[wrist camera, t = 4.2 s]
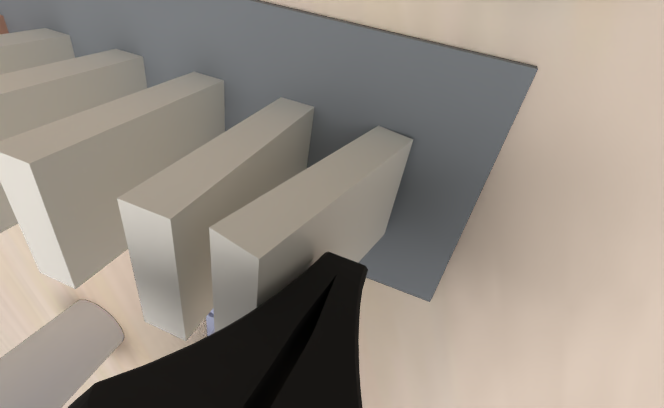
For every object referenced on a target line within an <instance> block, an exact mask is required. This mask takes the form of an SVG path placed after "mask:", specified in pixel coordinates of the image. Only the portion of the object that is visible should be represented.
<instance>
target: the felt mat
mask: <svg viewBox="0 0 664 408" xmlns="http://www.w3.org/2000/svg"><path fill="white" fill-rule="evenodd" d="M0 15H3V17H4V20H5V23H6V26H7V29H8V32H9V33H14V32H21V31H28V30H35V29H42V28H47V29H50V30H54V31H57V32H61V33H64V34H67V35H70V39H71V43H72V47H73V51H74V56H75V58H77V57H81V56H86V55H90V54H95V53H99V52H104V51H108V50H112V49H119V50H122V51H125V52H129V53H132V54H136V55H139V56H142V57H143V61H144V68H145V76H146V83H147V88H150V87H153V86H155V85H158V84H161V83H164V82H167V81H169V80H172V79H175V78H178V77H181V76H183V75H186V74H189V73H192V72H197V73H201V74H204V75H207V76H211V77H214V78H218V79H221V80H224V107H225V131H227V130H229V129H230V128H232V127H233V126H235V125H237V124H238V123H240V122H242V121H243V120H245V119H246V118H248V117H250V116H251V115H253V114H255V113H256V112H258V111H259V110H261V109H263V108H264V107H266V106H268V105H269V104H271V103H272V102H274V101H276V100H277V99H279V98H281V97H282V98H286V99H289V100H293V101H296V102H299V103H303V104H306V105H310V106H313V107H314V114H313V122H312V130H311V138H310V146H309V153H308V161H307V168H309V167H310V166H312V165H314V164H315V163H317V162H319V161H320V160H322V159H324V158H325V157H327V156H329V155H330V154H332V153H334V152H335V151H337V150H339V149H340V148H342V147H344V146H345V145H347V144H349V143H350V142H352V141H354V140H355V139H357V138H359V137H360V136H362V135H364V134H365V133H367V132H369V131H370V130H372V129H374V128H375V127H377V126H381V127H383V128H386V129H388V130H391V131H393V132H396V133H398V134H401V135H403V136H406V137H408V138H411V139H413V142H412V146H411V149H410V152H409V156H408V159H407V162H406V165H405V169H404V172H403V175H402V178H401V182H400V185H399V188H398V192H397V195H396V198H395V201H394V205H393V208H392V211H391V214H390V218H389V221H388V224H387V228H386V231H385V234H384V235H383V236H382V237H381V238H380V239H379V241H378V242H377V243H376V244H375V245H374V246H373V247H372V248H371V249H370V250H369V251H368V253H367V254H366V255H365V256H364V257H363V258H362V259H361V260H360V261H359V262H358V263H360V264H363V265H365V266H366V267H367V269H368V272H367V275H366V278H369V279H371V280H374V281H376V282H379V283H382V284H384V285H387V286H389V287H392V288H395V289H397V290H400V291H403V292H405V293H408V294H410V295H413V296H416V297H418V298H421V299H423V300H426V301H429V302H430V301H431V299H432V297H433V294H434V292H435V290H436V288H437V286H438V284H439V281H440V279H441V277H442V275H443V273H444V271H445V268H446V266H447V264H448V262H449V260H450V258H451V256H452V253H453V251H454V249H455V247H456V245H457V243H458V240H459V238H460V236H461V234H462V232H463V230H464V227H465V225H466V223H467V221H468V219H469V217H470V215H471V212H472V210H473V208H474V206H475V204H476V202H477V199H478V197H479V195H480V193H481V191H482V189H483V186H484V184H485V182H486V180H487V178H488V176H489V174H490V171H491V169H492V167H493V165H494V163H495V161H496V158H497V156H498V154H499V152H500V150H501V148H502V145H503V143H504V141H505V139H506V137H507V135H508V132H509V130H510V128H511V126H512V124H513V122H514V120H515V117H516V115H517V113H518V111H519V109H520V107H521V104H522V102H523V100H524V98H525V96H526V94H527V91H528V89H529V87H530V85H531V83H532V81H533V79H534V76H535V74H536V72H537V70H538V68H537V66H532V65H528V64H524V63H520V62H516V61H511V60H507V59H503V58H499V57H495V56H490V55H486V54H482V53H478V52H473V51H469V50H465V49H461V48H457V47H452V46H448V45H444V44H440V43H436V42H431V41H427V40H423V39H419V38H414V37H410V36H406V35H402V34H398V33H393V32H389V31H385V30H381V29H377V28H372V27H368V26H364V25H360V24H356V23H351V22H347V21H343V20H339V19H334V18H330V17H326V16H322V15H318V14H313V13H309V12H305V11H301V10H297V9H292V8H288V7H284V6H280V5H276V4H271V3H267V2H263V1H259V0H0Z"/></svg>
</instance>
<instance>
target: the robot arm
mask: <svg viewBox="0 0 664 408" xmlns="http://www.w3.org/2000/svg"><path fill="white" fill-rule="evenodd" d="M367 272H368V269H367V267H366V266H365V265H363V264H360V263H357V262H355V261H352V260H349V259H347V258H344V257H342V256H339V255H336V254H334V253H331V252H326V253H324V254H323V255H322V256H321V257H320V258H319V259H318V260H317V261H316V262H315V263H314V264H313V265H311V266H310V267H309V268H308V269H307V270H306V271H305V272H303V273H302V274H301V275H300V276H299V277H298V278H296V279H295V280H294V281H292V282H291V283H290V284H289V285H287V286H286V287H285V288H284V289H282V290H281V291H280V292H278V293H277V294H276V295H274V296H273V297H271V298H270V299H268V300H267V301H266V302H264V303H263V304H261V305H260V306H258V307H257V308H256V309H254V310H252V311H251V312H249V313H248V314H246V315H245V316H243V317H241V318H240V319H238V320H236V321H235V322H233V323H231V324H230V325H228V326H226V327H224V328H223V329H221V330H219V331H217V332H215V329H214V310H213V309H212V310H211V312H210V313H209V314H208V315H207V316H206V322H207V337H206V338H204V339H202V340H200V341H198V342H196V343H194V344H192V345H189V346H187V347H185V348H183V349H181V350H178V351H176V352H174V353H172V354H169V355H167V356H165V357H162V358H160V359H158V360H156V361H153V362H151V363H148V364H146V365H143V366H141V367H138V368H135V369H133V370H130V371H127V372H124V373H122V374H119V375H116V376H113V377H111V378H108V379H105V380H102V381H99V382H97V383H95V384H94V385H93V386H91V387H90V388H89V389H88V390H87V391H86V392H85V393H83V394H82V395H81V396H80V397H79V398H77V399H76V400H75V401H74V402H73V403H72V404H71V405H70V406H69V407H68V408H362V399H361V389H360V375H359V345H358V337H359V314H360V302H361V295H362V289H363V285H364V282H365V279H366V275H367Z"/></svg>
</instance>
